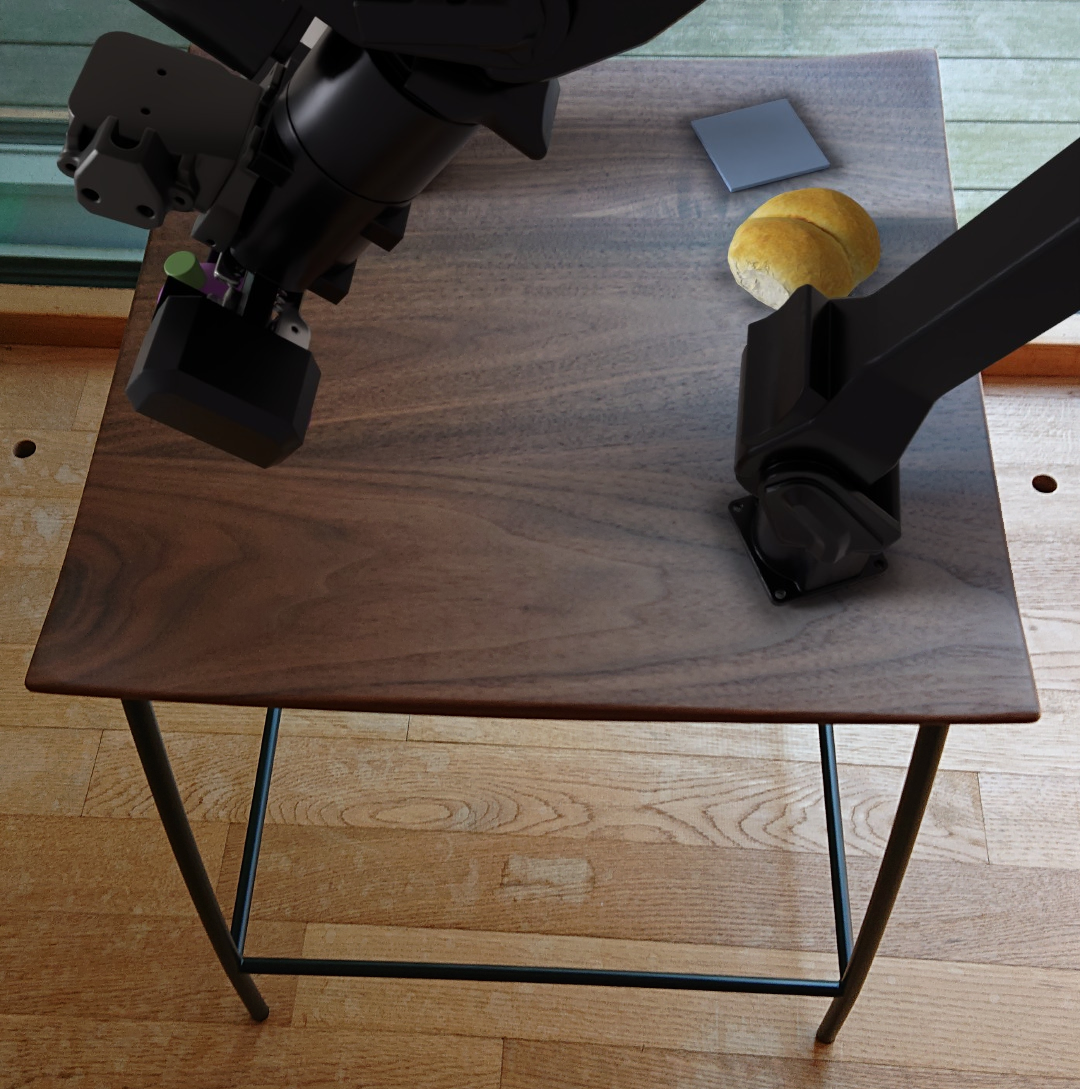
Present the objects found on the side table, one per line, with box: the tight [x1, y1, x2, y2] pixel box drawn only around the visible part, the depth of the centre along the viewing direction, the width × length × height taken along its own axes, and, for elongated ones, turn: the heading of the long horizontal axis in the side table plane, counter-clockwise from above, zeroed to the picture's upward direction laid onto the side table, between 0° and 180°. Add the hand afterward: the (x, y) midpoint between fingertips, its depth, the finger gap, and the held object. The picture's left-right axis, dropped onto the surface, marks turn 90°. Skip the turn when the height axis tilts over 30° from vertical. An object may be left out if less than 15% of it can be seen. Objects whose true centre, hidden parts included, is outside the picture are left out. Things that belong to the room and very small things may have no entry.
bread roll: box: [727, 187, 882, 311], centre depth 65 cm, size 8×9×4 cm
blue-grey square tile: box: [690, 98, 831, 193], centre depth 72 cm, size 7×7×1 cm
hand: (193, 333), depth 49 cm, fingers closed on eggplant, 4 cm apart
